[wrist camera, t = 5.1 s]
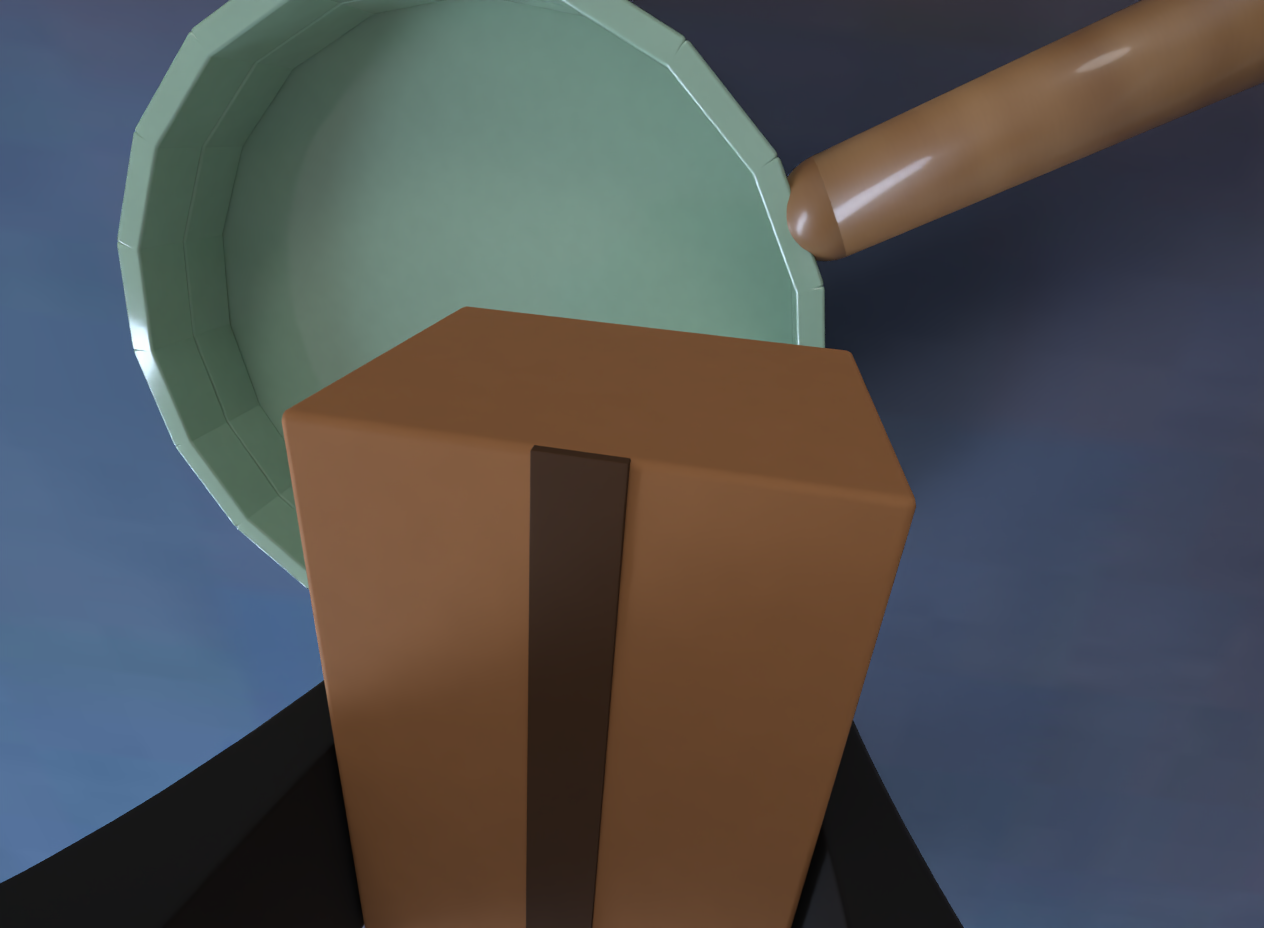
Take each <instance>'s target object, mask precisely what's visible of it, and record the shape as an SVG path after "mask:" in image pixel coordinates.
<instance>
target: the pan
mask: <svg viewBox="0 0 1264 928" xmlns="http://www.w3.org/2000/svg"><path fill="white" fill-rule="evenodd" d="M135 131H136V132H134V134H133V140H132V147H131V153H130V160H129V166H128V173H127V179H126V186H125V192H124V199H123V205H122V212H121V218H120V224H119V231H118V237H117V240H118V241H119V242H118V243H117V246H118V253H119V260H120V266H121V273H122V280H123V286H124V293H125V299H126V306H127V313H128V319H129V326H130V333H131V339H132V346H133V348H134V349H135V350H134V353H135V355H136V357H137V360H138V362H139V364H140V367H141V369H142V371H143V374H144V376H145V378H146V381H147V383H148V385H149V387H150V390H151V392H152V394H153V397H154V399H155V401H156V404H157V406H158V408H159V411H160V413H161V415H162V417H163V420H164V422H165V424H166V427H167V429H168V431H169V434H170V436H171V438H172V441H173V443H174V444H175V445H177V446H176V448H177V449H178V451H179V452H180V454H181V455H182V456H183V458H184V459H185V460H186V462H187V463H188V464H189V466H190V467H191V468H192V470H193V471H194V472H195V474H196V475H197V476H198V478H199V479H200V480H201V482H202V483H203V484H204V486H205V487H206V488H207V490H208V491H209V492H210V494H211V495H212V496H213V498H214V499H215V500H216V502H217V503H218V504H219V506H220V507H221V508H222V510H223V511H224V512H225V514H226V515H227V516H228V518H229V519H230V520H231V522H232V523H233V524H234V526H237V529H238V530H240V531H241V532H242V533H243V534H244V535H245V536H247V537H248V538H249V539H250V540H251V541H252V542H254V543H255V544H256V545H257V546H258V547H259V548H261V549H262V550H263V551H264V552H265V553H266V554H268V555H269V556H270V557H271V558H272V559H273V560H275V561H276V562H277V563H278V564H279V565H280V566H282V567H283V568H284V569H285V570H286V571H287V572H288V573H290V574H291V575H292V576H293V577H294V578H295V579H297V580H298V581H299V582H300V583H301V584H302V585H304V586H305V587H306V588H307V589H309V585H308V579H307V573H306V567H305V561H304V555H303V549H302V542H301V536H300V530H299V524H298V518H297V512H296V506H295V500H294V494H293V488H292V482H291V476H290V469H289V463H288V457H287V451H286V445H285V439H284V433H283V427H282V416H283V413H284V412H285V410H287V409H289V408H291V407H292V406H294V405H296V404H297V403H299V402H301V401H303V400H304V399H306V398H308V397H309V396H311V395H313V394H315V393H316V392H318V391H320V390H321V389H323V388H325V387H327V386H328V385H330V384H332V383H333V382H335V381H337V380H339V379H340V378H342V377H344V376H346V375H347V374H349V373H351V372H352V371H354V370H356V369H358V368H359V367H361V366H363V365H364V364H366V363H368V362H370V361H371V360H373V359H375V358H376V357H378V356H380V355H382V354H383V353H385V352H387V351H388V350H390V349H392V348H394V347H395V346H397V345H399V344H400V343H402V342H404V341H406V340H407V339H409V338H411V337H412V336H414V335H416V334H418V333H419V332H421V331H423V330H424V329H426V328H428V327H430V326H431V325H433V324H435V323H436V322H438V321H440V320H442V319H443V318H445V317H447V316H448V315H450V314H452V313H454V312H455V311H457V310H459V309H461V308H463V307H466V306H468V307H477V308H485V309H494V310H502V311H511V312H520V313H528V314H537V315H545V316H554V317H563V318H571V319H580V320H588V321H597V322H605V323H614V324H623V325H631V326H640V327H648V328H657V329H666V330H674V331H683V332H691V333H700V334H708V335H717V336H726V337H734V338H743V339H751V340H760V341H769V342H777V343H786V344H794V345H803V346H811V347H820V348H825V288H824V286H823V283H824V282H823V280H822V277H821V274H820V271H819V268H818V265H817V262H816V260H815V257H814V255H813V254H812V253H810V252H808V251H807V250H805V249H803V248H802V247H801V246H800V245H799V244H798V243H797V242H796V241H795V240H794V238H793V237H792V235H791V233H790V231H789V229H788V225H787V217H786V215H787V204H788V200H789V197H790V193H791V189H790V185H789V183H788V180H787V177H786V174H785V171H784V168H783V165H782V163H781V160H780V158H779V157H778V156H777V152H776V151H775V150H774V148H773V147H772V146H771V145H770V143H769V142H768V141H767V139H766V138H765V137H764V136H763V134H762V133H761V132H760V131H759V129H758V128H757V127H756V125H755V124H754V123H753V122H752V120H751V119H750V118H749V116H748V115H747V114H746V113H745V111H744V110H743V109H742V108H741V106H740V105H739V104H738V102H737V101H736V100H735V99H734V97H733V96H732V95H731V93H730V92H729V91H728V90H727V88H726V87H725V86H724V85H723V83H722V82H721V81H720V79H719V78H718V77H717V76H716V74H715V73H714V72H713V70H712V69H711V68H710V67H709V65H708V64H707V63H706V62H705V60H704V59H703V58H702V56H701V55H700V54H699V53H698V51H697V50H696V49H695V47H694V46H693V45H692V44H691V42H690V41H688V40H686V38H685V37H684V36H683V35H682V34H680V33H678V32H677V31H675V30H674V29H672V28H671V27H669V26H667V25H666V24H664V23H663V22H661V21H660V20H658V19H656V18H655V17H653V16H652V15H650V14H649V13H647V12H645V11H644V10H642V9H641V8H639V7H638V6H636V5H634V4H633V3H631V2H630V1H628V0H230V1H228V2H227V3H226V4H224V5H223V6H222V7H220V8H219V9H218V10H216V11H215V12H214V13H212V14H211V15H210V16H208V17H207V18H206V19H204V20H203V21H202V22H200V23H199V24H198V25H196V26H195V27H194V28H192V31H191V32H190V33H189V34H188V36H187V38H186V39H185V41H184V43H183V45H182V46H181V48H180V50H179V52H178V53H177V55H176V57H175V59H174V61H173V62H172V64H171V66H170V68H169V69H168V71H167V73H166V75H165V77H164V78H163V80H162V82H161V84H160V85H159V87H158V89H157V91H156V93H155V94H154V96H153V98H152V100H151V101H150V103H149V105H148V107H147V109H146V110H145V112H144V114H143V116H142V117H141V119H140V121H139V123H138V125H137V126H136V128H135Z"/></svg>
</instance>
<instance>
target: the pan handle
mask: <svg viewBox="0 0 1264 928" xmlns="http://www.w3.org/2000/svg"><path fill="white" fill-rule="evenodd" d="M1263 82H1264V0H1141V1H1139V2H1137V3H1135V4H1133V5H1131V6H1129V7H1126V8H1124V9H1122V10H1120V11H1118V12H1116V13H1114V14H1112V15H1110V16H1107V17H1105V18H1103V19H1101V20H1099V21H1097V22H1095V23H1093V24H1091V25H1088V26H1086V27H1084V28H1082V29H1080V30H1078V31H1076V32H1074V33H1071V34H1069V35H1067V36H1065V37H1063V38H1061V39H1059V40H1057V41H1055V42H1052V43H1050V44H1048V45H1046V46H1044V47H1042V48H1040V49H1038V50H1036V51H1033V52H1031V53H1029V54H1027V55H1025V56H1023V57H1021V58H1019V59H1016V60H1014V61H1012V62H1010V63H1008V64H1006V65H1004V66H1002V67H1000V68H997V69H995V70H993V71H991V72H989V73H987V74H985V75H983V76H981V77H978V78H976V79H974V80H972V81H970V82H968V83H966V84H964V85H961V86H959V87H957V88H955V89H953V90H951V91H949V92H947V93H945V94H942V95H940V96H938V97H936V98H934V99H932V100H930V101H928V102H925V103H923V104H921V105H919V106H917V107H915V108H913V109H911V110H909V111H906V112H904V113H902V114H900V115H898V116H896V117H894V118H892V119H890V120H887V121H885V122H883V123H881V124H879V125H877V126H875V127H873V128H870V129H868V130H866V131H864V132H862V133H860V134H858V135H856V136H854V137H851V138H849V139H847V140H845V141H843V142H841V143H839V144H837V145H835V146H832V147H830V148H828V149H826V150H824V151H822V152H820V153H818V154H815V155H813V156H811V157H810V158H808V159H806V160H805V161H803V162H802V163H800V164H799V165H798V166H797V167H796V168H795V169H794V170H793V171H792V172H791V173H790V175H789V176H788V177H787V180H788V183H789V185H790V189H791V193H790V197H789V200H788V204H787V215H786V217H787V225H788V229H789V231H790V233H791V235H792V237H793V238H794V240H795V241H796V242H797V243H798V244H799V245H800V246H801V247H802V248H803V249H805V250H807V251H808V252H810V253H812V254H813V255H814V257H815V260H816V261H833V260H838V259H841V258H845V257H847V256H850V255H852V254H854V253H857V252H859V251H862V250H864V249H866V248H869V247H871V246H873V245H876V244H878V243H881V242H883V241H885V240H888V239H890V238H893V237H895V236H897V235H900V234H902V233H905V232H907V231H909V230H912V229H914V228H916V227H919V226H921V225H924V224H926V223H928V222H931V221H933V220H936V219H938V218H940V217H943V216H945V215H948V214H950V213H952V212H955V211H957V210H960V209H962V208H964V207H967V206H969V205H971V204H974V203H976V202H979V201H981V200H983V199H986V198H988V197H991V196H993V195H995V194H998V193H1000V192H1003V191H1005V190H1007V189H1010V188H1012V187H1014V186H1017V185H1019V184H1022V183H1024V182H1026V181H1029V180H1031V179H1034V178H1036V177H1038V176H1041V175H1043V174H1046V173H1048V172H1050V171H1053V170H1055V169H1058V168H1060V167H1062V166H1065V165H1067V164H1069V163H1072V162H1074V161H1077V160H1079V159H1081V158H1084V157H1086V156H1089V155H1091V154H1093V153H1096V152H1098V151H1101V150H1103V149H1105V148H1108V147H1110V146H1112V145H1115V144H1117V143H1120V142H1122V141H1124V140H1127V139H1129V138H1132V137H1134V136H1136V135H1139V134H1141V133H1144V132H1146V131H1148V130H1151V129H1153V128H1155V127H1158V126H1160V125H1163V124H1165V123H1167V122H1170V121H1172V120H1175V119H1177V118H1179V117H1182V116H1184V115H1187V114H1189V113H1191V112H1194V111H1196V110H1199V109H1201V108H1203V107H1206V106H1208V105H1210V104H1213V103H1215V102H1218V101H1220V100H1222V99H1225V98H1227V97H1230V96H1232V95H1234V94H1237V93H1239V92H1242V91H1244V90H1246V89H1249V88H1251V87H1253V86H1256V85H1258V84H1261V83H1263Z"/></svg>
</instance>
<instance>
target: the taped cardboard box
mask: <svg viewBox="0 0 1264 928" xmlns="http://www.w3.org/2000/svg"><path fill="white" fill-rule="evenodd" d="M282 427H283V433H284V439H285V445H286V451H287V457H288V463H289V469H290V476H291V482H292V488H293V494H294V500H295V506H296V512H297V518H298V524H299V530H300V536H301V542H302V549H303V555H304V561H305V567H306V573H307V579H308V585H309V591H310V597H311V603H312V609H313V615H314V622H315V628H316V634H317V640H318V646H319V652H320V658H321V664H322V670H323V676H324V682H325V688H326V695H327V701H328V707H329V713H330V719H331V725H332V731H333V737H334V743H335V749H336V755H337V761H338V768H339V774H340V780H341V786H342V792H343V798H344V804H345V810H346V816H347V822H348V828H349V834H350V841H351V847H352V853H353V859H354V865H355V871H356V877H357V883H358V889H359V895H360V901H361V907H362V914H363V920H364V926H365V928H791V927H792V923H793V920H794V917H795V913H796V910H797V907H798V903H799V900H800V896H801V893H802V890H803V886H804V883H805V880H806V876H807V873H808V869H809V866H810V863H811V859H812V856H813V853H814V849H815V846H816V842H817V839H818V836H819V832H820V829H821V826H822V822H823V819H824V815H825V812H826V809H827V805H828V802H829V799H830V795H831V792H832V788H833V785H834V782H835V778H836V775H837V772H838V768H839V765H840V761H841V758H842V755H843V751H844V748H845V745H846V741H847V738H848V734H849V731H850V728H851V724H852V721H853V718H854V714H855V711H856V707H857V704H858V701H859V697H860V694H861V691H862V687H863V684H864V680H865V677H866V674H867V670H868V667H869V664H870V660H871V657H872V653H873V650H874V647H875V643H876V640H877V637H878V633H879V630H880V626H881V623H882V620H883V616H884V613H885V610H886V606H887V603H888V599H889V596H890V593H891V589H892V586H893V583H894V579H895V576H896V572H897V569H898V566H899V562H900V559H901V556H902V552H903V549H904V545H905V542H906V539H907V535H908V532H909V529H910V525H911V522H912V518H913V515H914V512H915V508H916V503H915V498H914V495H913V493H912V491H911V489H910V486H909V484H908V482H907V479H906V477H905V475H904V472H903V470H902V468H901V466H900V463H899V461H898V459H897V456H896V454H895V452H894V449H893V447H892V445H891V443H890V440H889V438H888V436H887V433H886V431H885V429H884V427H883V424H882V422H881V420H880V417H879V415H878V413H877V410H876V408H875V406H874V404H873V401H872V399H871V397H870V394H869V392H868V390H867V387H866V385H865V383H864V381H863V378H862V376H861V374H860V371H859V369H858V367H857V364H856V362H855V360H854V358H853V355H852V353H850V352H848V351H846V350H837V349H829V348H820V347H811V346H803V345H794V344H786V343H777V342H769V341H760V340H751V339H743V338H734V337H726V336H717V335H708V334H700V333H691V332H683V331H674V330H666V329H657V328H648V327H640V326H631V325H623V324H614V323H605V322H597V321H588V320H580V319H571V318H563V317H554V316H545V315H537V314H528V313H520V312H511V311H502V310H494V309H485V308H477V307H468V306H466V307H463V308H461V309H459V310H457V311H455V312H454V313H452V314H450V315H448V316H447V317H445V318H443V319H442V320H440V321H438V322H436V323H435V324H433V325H431V326H430V327H428V328H426V329H424V330H423V331H421V332H419V333H418V334H416V335H414V336H412V337H411V338H409V339H407V340H406V341H404V342H402V343H400V344H399V345H397V346H395V347H394V348H392V349H390V350H388V351H387V352H385V353H383V354H382V355H380V356H378V357H376V358H375V359H373V360H371V361H370V362H368V363H366V364H364V365H363V366H361V367H359V368H358V369H356V370H354V371H352V372H351V373H349V374H347V375H346V376H344V377H342V378H340V379H339V380H337V381H335V382H333V383H332V384H330V385H328V386H327V387H325V388H323V389H321V390H320V391H318V392H316V393H315V394H313V395H311V396H309V397H308V398H306V399H304V400H303V401H301V402H299V403H297V404H296V405H294V406H292V407H291V408H289V409H287V410H285V412H284V413H283V416H282Z"/></svg>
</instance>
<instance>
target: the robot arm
mask: <svg viewBox="0 0 1264 928" xmlns="http://www.w3.org/2000/svg"><path fill="white" fill-rule="evenodd" d="M0 928H365V926H364V920H363V914H362V907H361V901H360V895H359V889H358V883H357V877H356V871H355V865H354V859H353V853H352V847H351V841H350V834H349V828H348V822H347V816H346V810H345V804H344V798H343V792H342V786H341V780H340V774H339V768H338V761H337V755H336V749H335V743H334V737H333V731H332V725H331V719H330V713H329V707H328V701H327V695H326V688H325V682H324V680H323V681H322V682H321V683H319V684H318V685H317V686H315V687H314V688H313V689H311V690H310V691H308V692H307V693H306V694H304V695H303V696H301V697H300V698H299V699H297V700H296V701H294V702H293V703H292V704H290V705H289V706H287V707H286V708H285V709H283V710H282V711H280V712H279V713H278V714H276V715H275V716H273V717H272V718H271V719H269V720H268V721H266V722H265V723H263V724H262V725H261V726H259V727H258V728H256V729H255V730H254V731H252V732H251V733H249V734H248V735H246V736H245V737H243V738H242V739H241V740H239V741H238V742H236V743H235V744H233V745H232V746H230V747H228V748H227V749H225V750H224V751H222V752H221V753H219V754H218V755H216V756H215V757H213V758H212V759H210V760H209V761H207V762H206V763H204V764H203V765H201V766H200V767H198V768H197V769H195V770H194V771H192V772H191V773H189V774H188V775H186V776H185V777H183V778H181V779H180V780H178V781H177V782H175V783H174V784H172V785H171V786H169V787H168V788H166V789H165V790H163V791H161V792H160V793H158V794H157V795H155V796H153V797H152V798H150V799H148V800H147V801H145V802H144V803H142V804H140V805H139V806H137V807H135V808H134V809H132V810H130V811H129V812H127V813H125V814H124V815H122V816H120V817H119V818H117V819H115V820H114V821H112V822H110V823H109V824H107V825H105V826H103V827H102V828H100V829H98V830H96V831H95V832H93V833H91V834H89V835H88V836H86V837H84V838H82V839H81V840H79V841H77V842H75V843H74V844H72V845H70V846H68V847H67V848H65V849H63V850H61V851H60V852H58V853H56V854H54V855H53V856H51V857H49V858H47V859H45V860H44V861H42V862H40V863H38V864H36V865H35V866H33V867H31V868H29V869H27V870H25V871H24V872H22V873H20V874H18V875H16V876H14V877H12V878H10V879H8V880H6V881H4V882H2V883H0ZM791 928H964V927H963V926H962V924H961V922H960V921H959V919H958V917H957V916H956V914H955V912H954V911H953V909H952V907H951V906H950V904H949V902H948V900H947V899H946V897H945V895H944V894H943V892H942V890H941V889H940V887H939V885H938V883H937V882H936V880H935V878H934V876H933V874H932V873H931V871H930V869H929V867H928V866H927V864H926V862H925V860H924V858H923V857H922V855H921V853H920V851H919V849H918V848H917V846H916V844H915V842H914V840H913V839H912V837H911V835H910V833H909V831H908V830H907V828H906V826H905V824H904V822H903V820H902V818H901V817H900V815H899V813H898V811H897V809H896V807H895V805H894V803H893V801H892V799H891V798H890V796H889V794H888V792H887V790H886V788H885V786H884V784H883V782H882V780H881V778H880V776H879V774H878V772H877V770H876V768H875V766H874V764H873V762H872V760H871V757H870V755H869V753H868V751H867V749H866V747H865V745H864V743H863V741H862V739H861V736H860V734H859V732H858V730H857V728H856V725H855V723H854V721H852V724H851V728H850V731H849V734H848V738H847V741H846V745H845V748H844V751H843V755H842V758H841V761H840V765H839V768H838V772H837V775H836V778H835V782H834V785H833V788H832V792H831V795H830V799H829V802H828V805H827V809H826V812H825V815H824V819H823V822H822V826H821V829H820V832H819V836H818V839H817V842H816V846H815V849H814V853H813V856H812V859H811V863H810V866H809V869H808V873H807V876H806V880H805V883H804V886H803V890H802V893H801V896H800V900H799V903H798V907H797V910H796V913H795V917H794V920H793V923H792V927H791Z"/></svg>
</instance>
